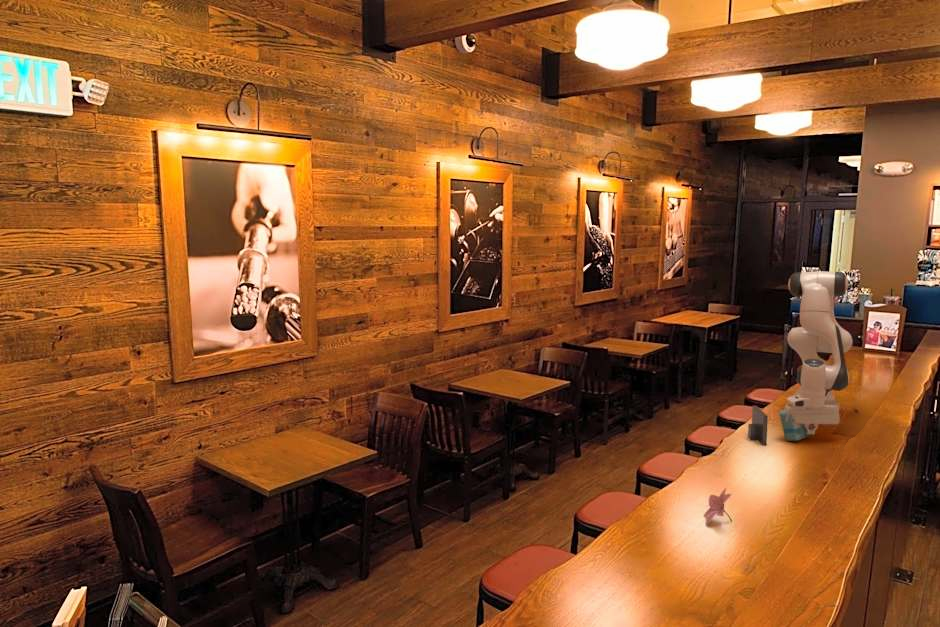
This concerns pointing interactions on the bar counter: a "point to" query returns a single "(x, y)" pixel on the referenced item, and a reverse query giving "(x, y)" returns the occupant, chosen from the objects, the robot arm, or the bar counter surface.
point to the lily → (716, 506)
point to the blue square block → (792, 428)
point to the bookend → (758, 426)
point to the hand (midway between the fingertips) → (810, 434)
